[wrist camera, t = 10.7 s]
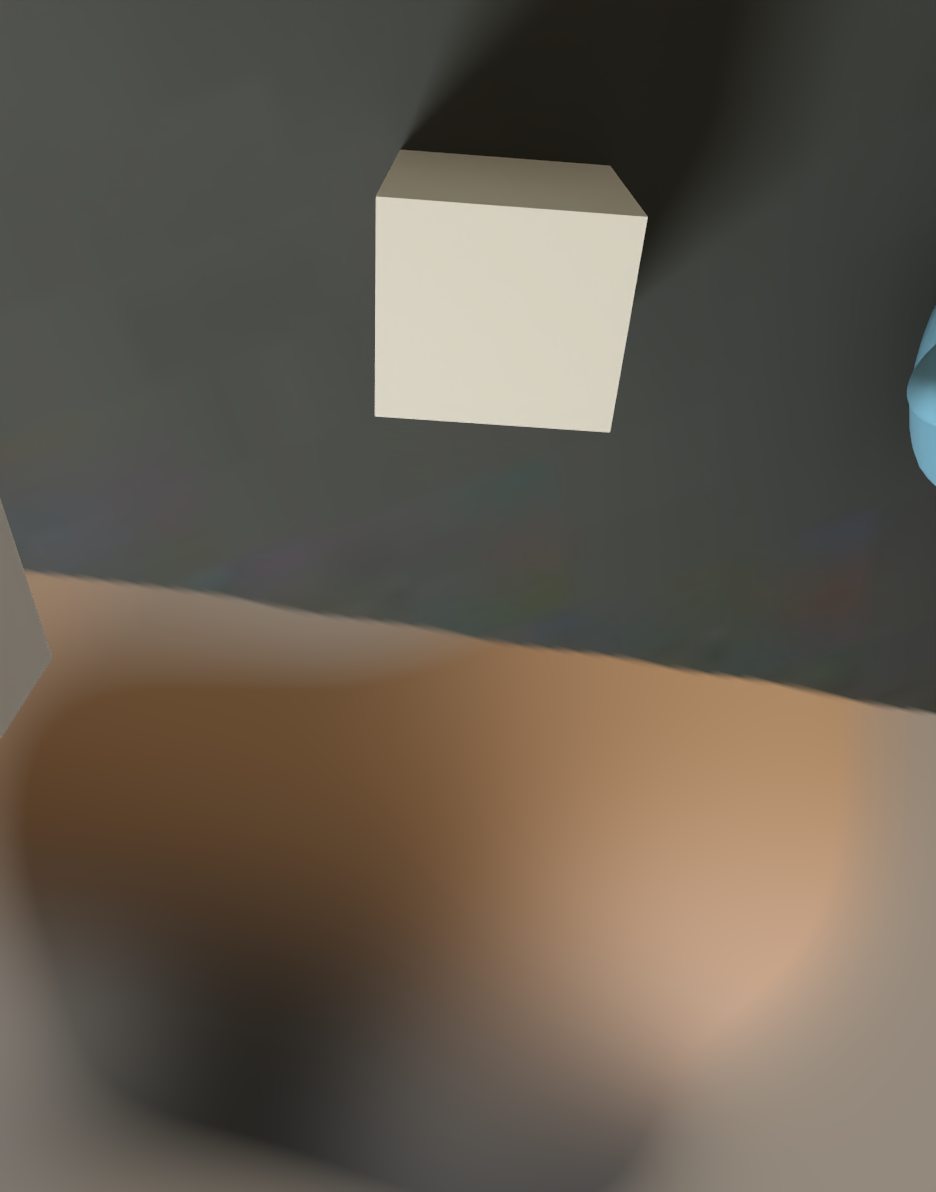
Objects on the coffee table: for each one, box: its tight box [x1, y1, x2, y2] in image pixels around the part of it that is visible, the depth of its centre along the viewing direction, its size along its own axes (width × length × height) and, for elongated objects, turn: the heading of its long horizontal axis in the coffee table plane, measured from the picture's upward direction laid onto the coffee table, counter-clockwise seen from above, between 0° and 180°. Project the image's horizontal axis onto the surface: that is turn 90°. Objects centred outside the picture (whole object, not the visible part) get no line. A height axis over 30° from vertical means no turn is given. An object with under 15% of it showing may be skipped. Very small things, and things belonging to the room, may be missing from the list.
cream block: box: [375, 150, 648, 432], centre depth 27 cm, size 7×6×8 cm
